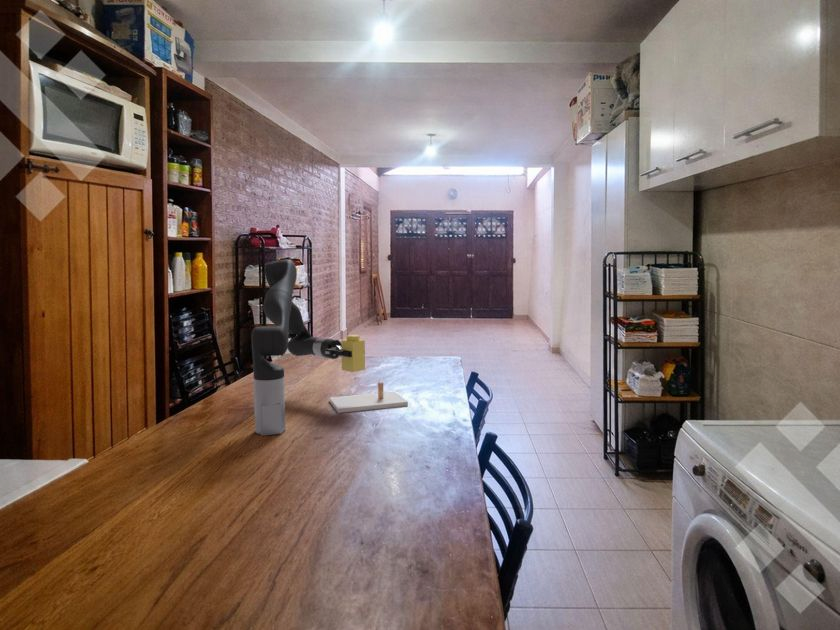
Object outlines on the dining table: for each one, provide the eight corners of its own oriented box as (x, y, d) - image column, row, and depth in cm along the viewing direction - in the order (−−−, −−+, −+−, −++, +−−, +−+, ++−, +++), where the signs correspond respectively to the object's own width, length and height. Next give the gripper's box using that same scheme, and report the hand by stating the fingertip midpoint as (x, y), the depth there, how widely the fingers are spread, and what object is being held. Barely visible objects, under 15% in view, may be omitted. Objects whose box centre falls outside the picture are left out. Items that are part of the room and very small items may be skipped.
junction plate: (407, 405, 194) (407, 385, 193) (338, 412, 185) (337, 392, 184) (394, 395, 209) (394, 376, 208) (329, 401, 200) (329, 382, 199)
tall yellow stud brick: (364, 369, 194) (364, 335, 192) (353, 372, 189) (352, 337, 188) (353, 367, 198) (353, 334, 196) (341, 369, 193) (341, 336, 192)
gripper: (312, 340, 196) (343, 345, 185) (341, 336, 207) (371, 340, 196) (312, 360, 197) (343, 366, 186) (341, 355, 208) (371, 360, 197)
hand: (357, 353), depth 191 cm, fingers closed on tall yellow stud brick, 6 cm apart
